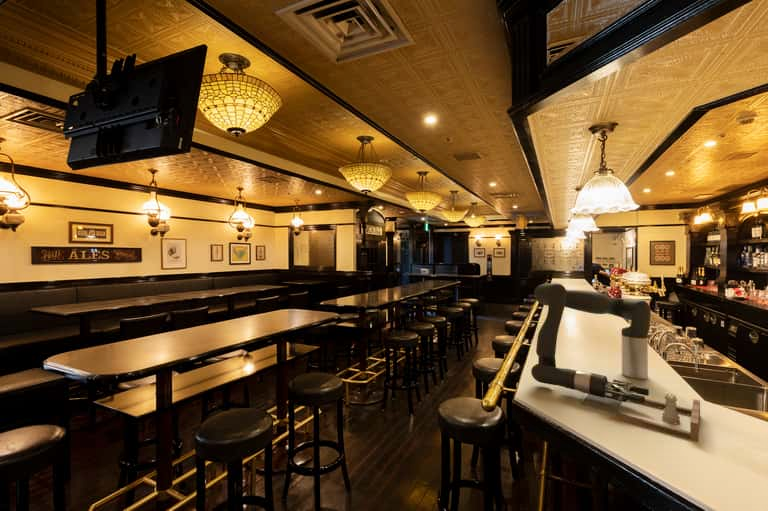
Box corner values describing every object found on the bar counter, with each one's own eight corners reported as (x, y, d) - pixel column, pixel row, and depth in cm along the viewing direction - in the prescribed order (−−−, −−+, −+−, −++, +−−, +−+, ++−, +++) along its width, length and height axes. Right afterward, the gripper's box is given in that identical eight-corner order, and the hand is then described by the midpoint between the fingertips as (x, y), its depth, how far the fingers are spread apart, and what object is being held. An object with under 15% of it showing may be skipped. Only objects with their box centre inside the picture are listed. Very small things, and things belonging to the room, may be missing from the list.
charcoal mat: (589, 394, 129) (589, 392, 129) (621, 401, 122) (621, 400, 122) (580, 403, 120) (580, 402, 120) (614, 412, 113) (614, 411, 113)
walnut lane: (627, 398, 125) (627, 385, 125) (700, 416, 111) (700, 400, 111) (615, 418, 109) (615, 403, 109) (698, 441, 96) (698, 423, 96)
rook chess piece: (676, 418, 109) (675, 393, 109) (683, 425, 105) (682, 399, 105) (659, 416, 111) (659, 391, 111) (665, 422, 107) (665, 397, 107)
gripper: (585, 378, 118) (643, 391, 107) (595, 368, 129) (649, 379, 117) (585, 400, 118) (643, 414, 107) (595, 388, 129) (649, 401, 117)
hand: (646, 396), depth 112 cm, fingers open, 8 cm apart
